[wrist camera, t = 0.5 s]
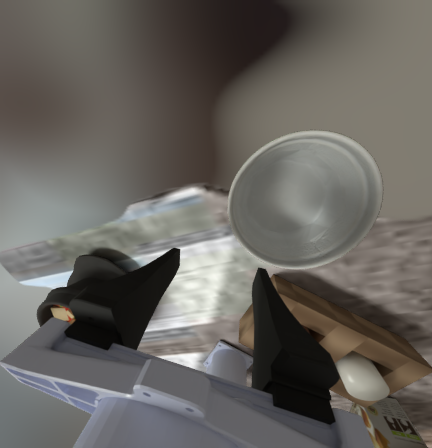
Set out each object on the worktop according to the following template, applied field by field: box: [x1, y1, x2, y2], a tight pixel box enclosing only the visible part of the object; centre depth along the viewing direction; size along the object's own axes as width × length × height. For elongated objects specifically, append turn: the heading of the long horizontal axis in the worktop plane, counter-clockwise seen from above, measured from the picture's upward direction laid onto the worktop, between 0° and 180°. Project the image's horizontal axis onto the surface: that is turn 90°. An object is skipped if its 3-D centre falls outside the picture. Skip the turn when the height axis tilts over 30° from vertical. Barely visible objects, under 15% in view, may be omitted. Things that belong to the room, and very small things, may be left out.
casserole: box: [37, 255, 126, 327], centre depth 31 cm, size 25×19×8 cm
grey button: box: [335, 350, 390, 401], centre depth 22 cm, size 5×5×4 cm
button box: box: [239, 274, 432, 408], centre depth 24 cm, size 12×22×4 cm, turn 67°
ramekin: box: [227, 130, 383, 270], centre depth 17 cm, size 13×13×7 cm
